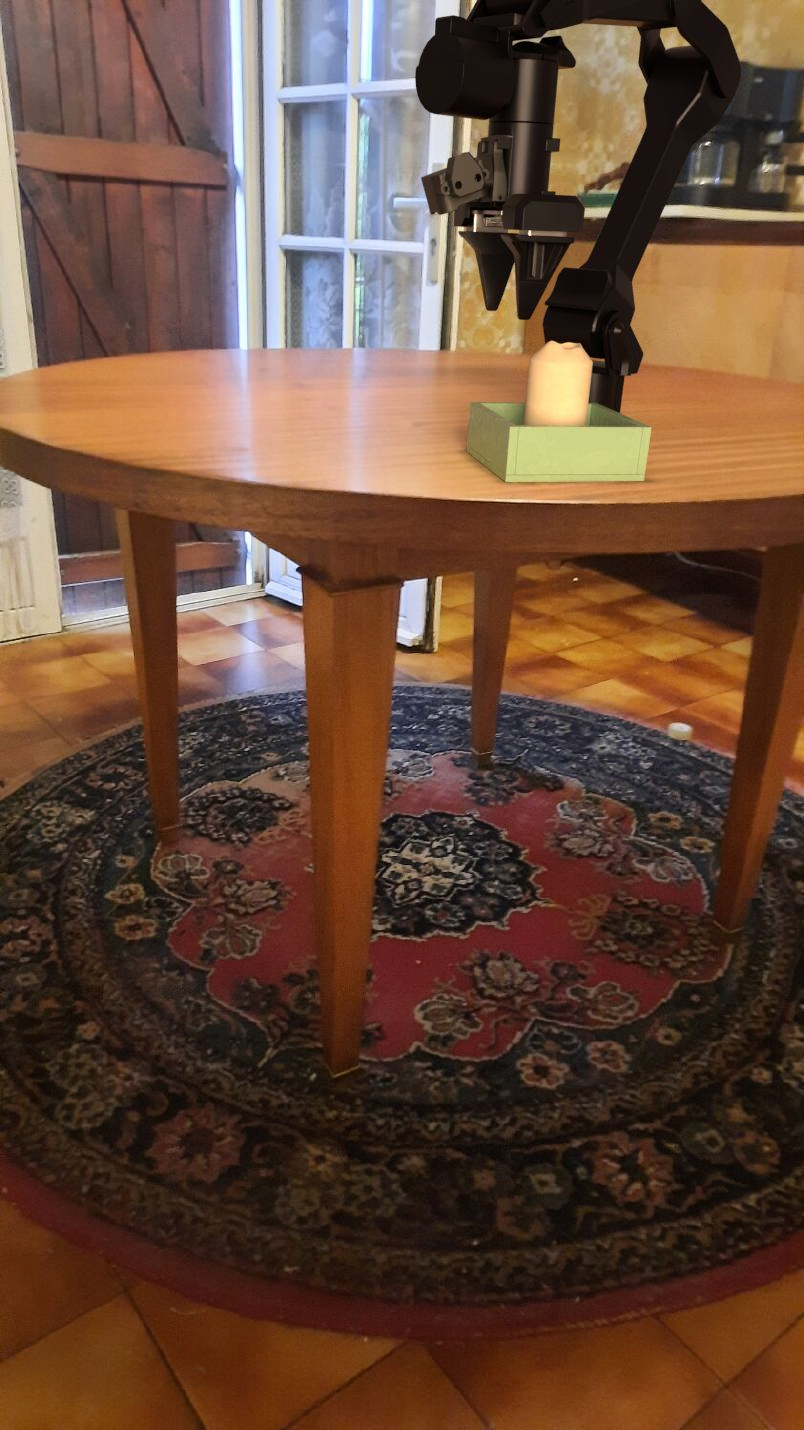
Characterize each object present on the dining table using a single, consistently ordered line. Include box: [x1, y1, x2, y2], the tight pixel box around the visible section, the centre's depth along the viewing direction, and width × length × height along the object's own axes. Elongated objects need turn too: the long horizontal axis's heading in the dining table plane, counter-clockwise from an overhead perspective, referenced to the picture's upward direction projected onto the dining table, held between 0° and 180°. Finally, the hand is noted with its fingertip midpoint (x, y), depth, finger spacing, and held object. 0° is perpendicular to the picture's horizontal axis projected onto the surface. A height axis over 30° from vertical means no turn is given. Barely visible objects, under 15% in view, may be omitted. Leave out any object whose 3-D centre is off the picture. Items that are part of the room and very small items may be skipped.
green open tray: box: [466, 401, 653, 483], centre depth 92 cm, size 13×13×5 cm
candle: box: [524, 341, 593, 425], centre depth 90 cm, size 6×6×10 cm
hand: (506, 315), depth 96 cm, fingers open, 9 cm apart
